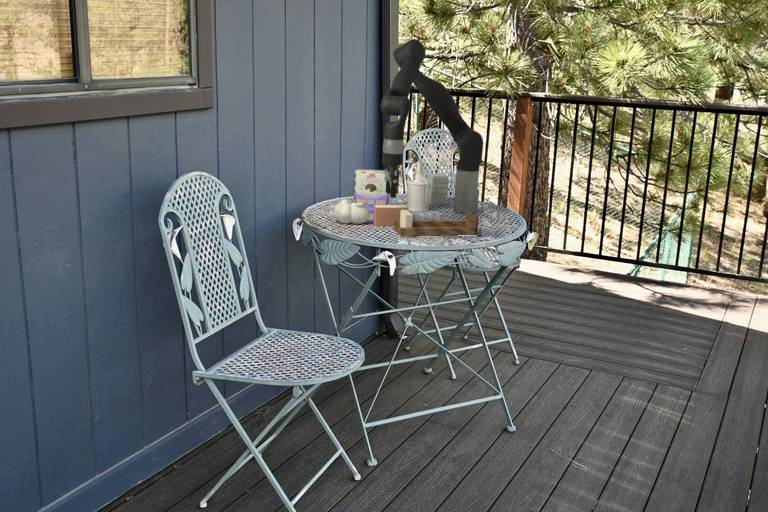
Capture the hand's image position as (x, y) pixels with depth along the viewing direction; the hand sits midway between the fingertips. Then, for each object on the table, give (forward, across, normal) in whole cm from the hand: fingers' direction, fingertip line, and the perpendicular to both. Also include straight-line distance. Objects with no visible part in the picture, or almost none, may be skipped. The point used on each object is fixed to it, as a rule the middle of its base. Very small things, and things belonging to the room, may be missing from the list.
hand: (390, 195), depth 299 cm
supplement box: (+11, +40, -28) cm, 50 cm away
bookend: (+10, -13, -3) cm, 17 cm away
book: (+11, 0, 0) cm, 11 cm away
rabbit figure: (+11, +11, -8) cm, 18 cm away
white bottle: (+11, +27, -17) cm, 34 cm away
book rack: (+11, -13, -14) cm, 22 cm away
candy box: (+12, +24, +3) cm, 26 cm away
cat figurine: (+12, +3, +15) cm, 19 cm away
